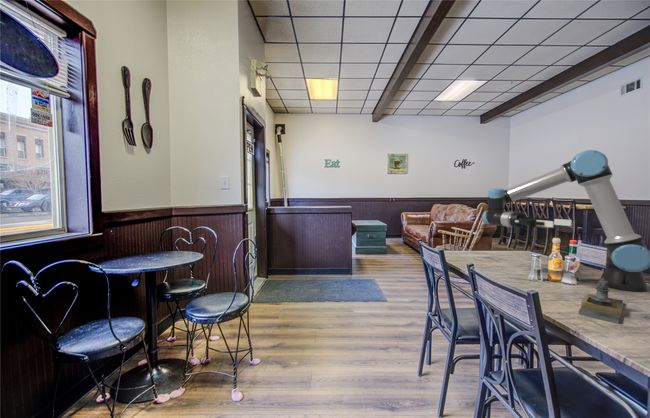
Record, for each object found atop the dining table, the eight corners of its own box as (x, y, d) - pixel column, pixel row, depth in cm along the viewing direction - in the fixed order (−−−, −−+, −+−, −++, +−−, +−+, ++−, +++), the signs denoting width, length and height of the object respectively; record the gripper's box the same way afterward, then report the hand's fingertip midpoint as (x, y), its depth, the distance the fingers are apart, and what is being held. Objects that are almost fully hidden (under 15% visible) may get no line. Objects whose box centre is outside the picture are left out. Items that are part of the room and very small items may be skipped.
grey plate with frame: (587, 296, 120) (587, 290, 120) (623, 303, 112) (623, 297, 112) (577, 314, 102) (578, 307, 102) (619, 323, 95) (619, 316, 95)
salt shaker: (614, 313, 103) (616, 280, 103) (593, 309, 106) (594, 277, 106) (609, 307, 108) (611, 276, 108) (589, 304, 111) (590, 274, 111)
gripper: (528, 226, 149) (578, 230, 130) (496, 228, 139) (544, 233, 120) (529, 211, 149) (578, 214, 130) (497, 212, 139) (545, 216, 120)
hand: (562, 223), depth 125 cm, fingers open, 13 cm apart
